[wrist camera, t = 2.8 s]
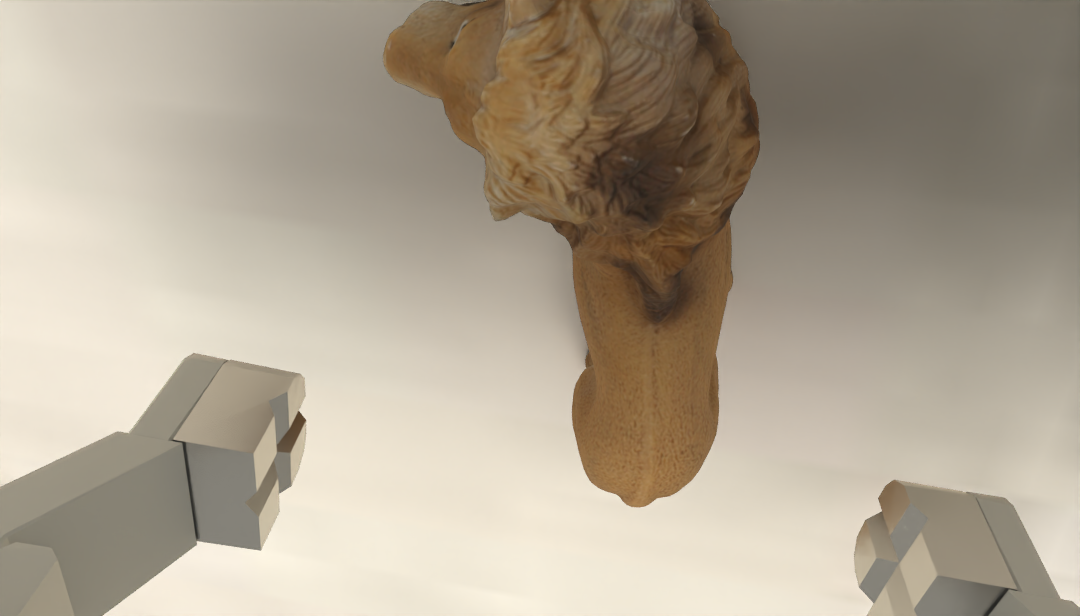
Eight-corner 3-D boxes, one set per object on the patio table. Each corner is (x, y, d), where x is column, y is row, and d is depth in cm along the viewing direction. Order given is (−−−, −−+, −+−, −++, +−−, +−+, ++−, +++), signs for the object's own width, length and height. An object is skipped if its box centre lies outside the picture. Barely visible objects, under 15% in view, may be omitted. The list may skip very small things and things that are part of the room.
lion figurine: (448, -94, 17) (292, 33, 10) (706, -168, 16) (755, -86, 8) (601, 423, 25) (581, 711, 17) (782, 401, 23) (841, 703, 16)
